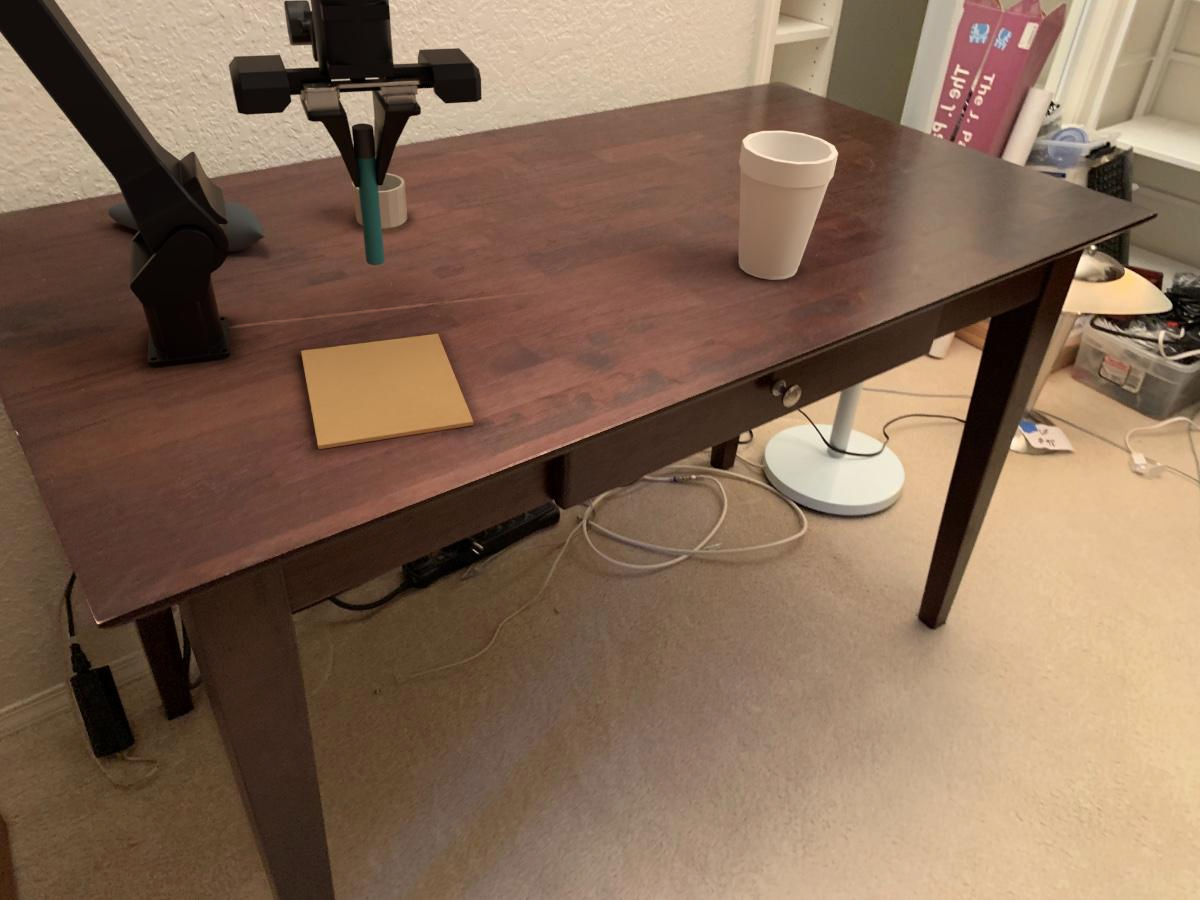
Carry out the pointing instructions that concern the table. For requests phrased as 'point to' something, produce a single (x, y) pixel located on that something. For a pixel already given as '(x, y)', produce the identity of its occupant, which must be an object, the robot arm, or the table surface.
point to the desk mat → (382, 390)
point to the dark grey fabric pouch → (239, 227)
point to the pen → (368, 192)
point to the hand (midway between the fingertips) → (368, 184)
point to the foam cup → (780, 199)
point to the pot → (387, 202)
